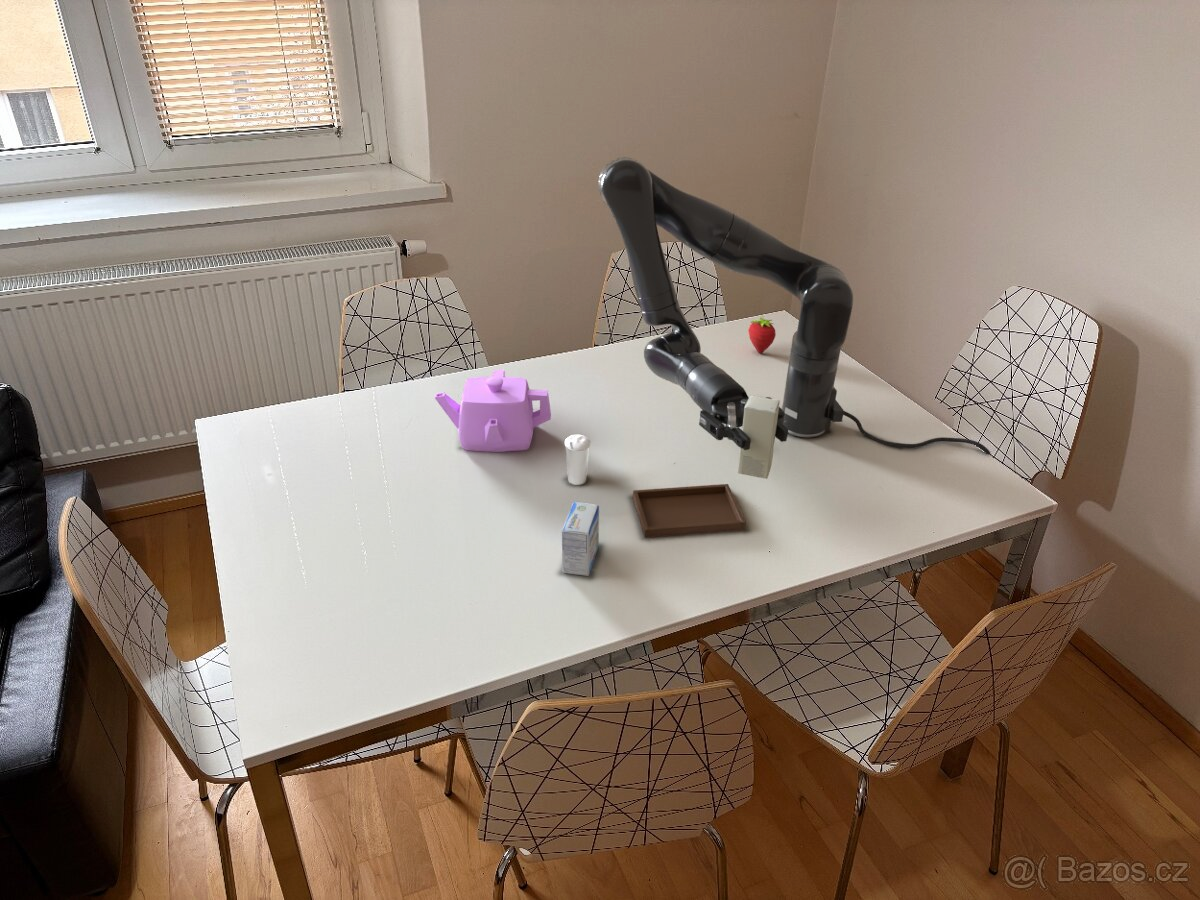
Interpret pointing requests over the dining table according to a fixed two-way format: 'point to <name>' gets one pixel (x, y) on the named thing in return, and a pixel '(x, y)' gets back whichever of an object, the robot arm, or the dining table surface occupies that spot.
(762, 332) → the strawberry
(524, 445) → the teakettle
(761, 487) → the dining table surface
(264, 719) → the dining table surface
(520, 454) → the dining table surface
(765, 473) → the box
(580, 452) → the milkshake
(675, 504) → the tray
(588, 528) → the medicine box
